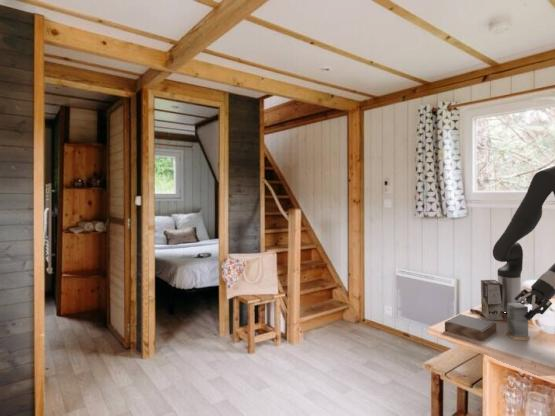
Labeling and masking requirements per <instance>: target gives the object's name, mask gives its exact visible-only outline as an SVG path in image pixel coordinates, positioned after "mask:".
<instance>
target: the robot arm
mask: <svg viewBox="0 0 555 416" xmlns="http://www.w3.org/2000/svg"><path fill="white" fill-rule="evenodd" d="M551 193H553V195H554V197H555V164H554V165H549V166H548V167H544V168H542V169H540V170H538V171H536V172H535V174H534V175H533V176H532V178H531V182H530V184H529V186H528V189H527V191H526V193H525V195H524V197H523V198H522V201H521V202H520V204H519V205H518V207H517V209H516V210H515V212H514V214H513V216H512V218H511V220H510V221H509V223H508V225H507V227H506V228H505V230H504V231H503V233H502V235H500V237H499V239H498V240H497V241H496V242H495V244H494V246H493V248H492V256H493V258H494V259H495V261H497V262H499V263H505V262H506V263H505V264H504V265H502V266H501V267H499V268H498V269H497V282H499V283H500V284H502V285H503V312H506V313H507V303H521V304H523V305H525V306H528V305H531V309H529V310H528V313H527V314H526V315H525V316H524V317H525V318H526V319H527V320H528V321H531V320H532V319H533V318H534V317H535V316H536V315H539V314H540V315H544V314H545V313H546V312H547V310H548V309H549V308H550V307H551V305H552V304H553V303H552V301H551V299H552V298H554V296H555V262H554V264H552V265H551V266H550V267H549V268H548V269H547V270H546V271H545V272H544V273H543V274H542V275H541V276H540V277H539V278H538V279H537V280H536V281H534V283H532V285H531V290H530V291H528V290H527V289H526V288H524V289H523V290H522V281H521V280H522V279H521V278H522V277H521V275H522V271H523V265H524V264H523V263H524V262H523V261H524V251H523V247H522V245H521V244H520V243H519V242H518V241H520V240H521V239H523V238H524V237H526V236H527V235H529V234H530V233H532V232H533V231H534V230H535V229H536V227H537V225H539V223H540V220H541V219H542V216H543V205H544V203H545V201H546V200H547V198H548V197H549V196H550V195H551Z"/></svg>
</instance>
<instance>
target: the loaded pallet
mask: <svg viewBox="0 0 555 416" xmlns="http://www.w3.org/2000/svg"><path fill="white" fill-rule="evenodd" d="M528 312H529V307H528V305H526V304H525V305H523V304H521V303H507V314H506V315H507V317H506V319H507V320H506V321H507V324H506V325H507V331H506V336H508V337H509V338H511V339H512V340H514V341H529V340H530V336H529V320H527V319H526V318H525V317H524V316H525V315H526V314H527V313H528Z"/></svg>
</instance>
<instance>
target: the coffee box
mask: <svg viewBox="0 0 555 416" xmlns="http://www.w3.org/2000/svg"><path fill="white" fill-rule="evenodd" d="M480 298H481V299H480V300H481V302H480V303H481V314H482V315H483V317H485V318H486V319H487V321H490V320H491V321H492V320H493V321H503V320H504V313H503V285H502V284H500V283H499V282H498V280H496V279H481V280H480Z"/></svg>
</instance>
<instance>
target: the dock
mask: <svg viewBox="0 0 555 416" xmlns="http://www.w3.org/2000/svg"><path fill="white" fill-rule="evenodd" d="M445 330H447V331H446V332H448V331H450V332H449V333H452V332H453V333H452V334H455V333H456V334H455V335H458V334H460V335H459V336H462V335H463V336H462V337H465V336H466V338H469V339H472V340H476V341H479V342H483V341H485V340H486V339H487V338H489V337H491V336H492V335H494V334H495V333H497V323H496V322H494V321H490V320H486V319H481V318H478V317H475V316H473V317H472V316H469V315H466V314H461V313H460V314H458V315H456V316H453V317H452V318H449V319H448V320H446V321H444V331H445Z"/></svg>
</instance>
